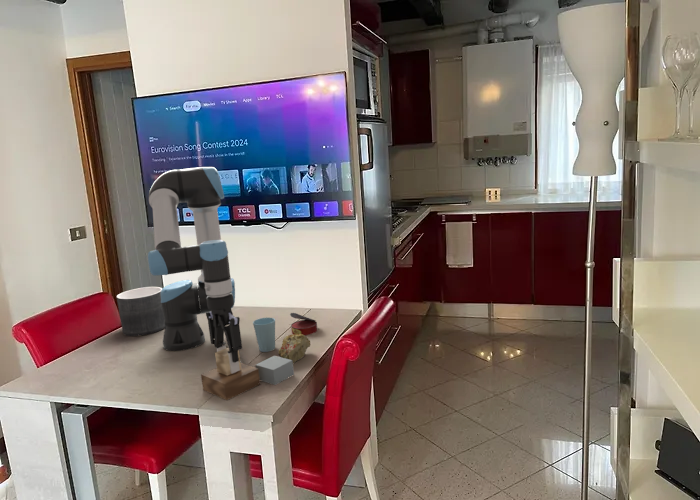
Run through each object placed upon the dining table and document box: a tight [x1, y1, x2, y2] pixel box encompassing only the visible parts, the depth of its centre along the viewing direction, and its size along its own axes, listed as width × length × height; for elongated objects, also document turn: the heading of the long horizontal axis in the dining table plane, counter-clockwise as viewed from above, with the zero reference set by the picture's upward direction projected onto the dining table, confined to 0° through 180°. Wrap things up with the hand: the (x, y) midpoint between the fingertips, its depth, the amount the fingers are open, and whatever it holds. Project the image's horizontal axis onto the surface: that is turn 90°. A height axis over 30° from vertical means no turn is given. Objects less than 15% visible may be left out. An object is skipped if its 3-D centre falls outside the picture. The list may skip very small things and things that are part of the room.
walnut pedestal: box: [200, 362, 261, 401], centre depth 159 cm, size 12×12×5 cm
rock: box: [277, 334, 311, 364], centre depth 177 cm, size 12×9×10 cm
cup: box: [252, 317, 276, 353], centre depth 187 cm, size 8×8×10 cm
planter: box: [116, 286, 165, 337], centre depth 221 cm, size 18×18×16 cm
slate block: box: [254, 355, 295, 386], centre depth 163 cm, size 8×8×5 cm
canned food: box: [289, 312, 318, 336], centre depth 203 cm, size 11×10×10 cm
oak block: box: [214, 347, 242, 376], centre depth 157 cm, size 5×5×6 cm
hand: (229, 369), depth 158 cm, fingers closed on oak block, 5 cm apart
